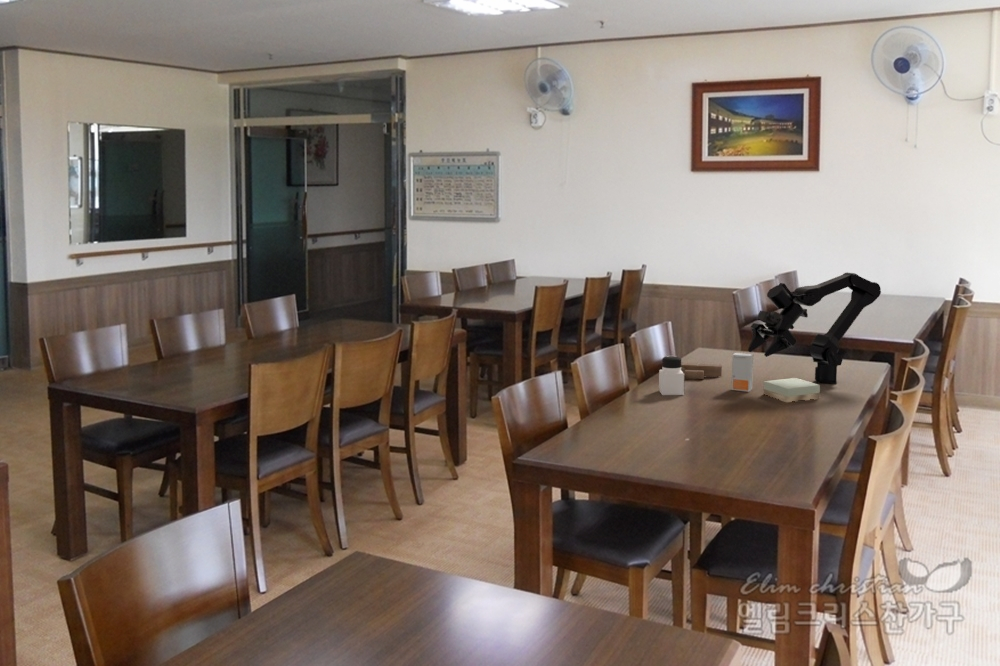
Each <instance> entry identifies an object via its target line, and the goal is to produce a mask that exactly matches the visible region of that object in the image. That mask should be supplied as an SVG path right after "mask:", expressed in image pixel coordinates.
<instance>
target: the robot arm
mask: <svg viewBox="0 0 1000 666" xmlns="http://www.w3.org/2000/svg"><path fill="white" fill-rule="evenodd" d="M845 288H848V289H849V290H851V294H850V301H849V302H848V304H847V305H846V306H845V308H843V310H842V312H841V313H840V315H839V316H837V319H836V320H835V321H834V322H833V324H832V325H831V327H829V329H828V331H827V332H826V333H825V334H821V333H818V334H817V335H816V336H815V338H814V340H812V341H811V342H810V344H811V345H810V347H809V353H810V355H811V358H812V362H813V363H817V364H816V366H814V367H815V368H814V380H815V383H817V382H822V383H821V384H837V383H838V380H837V377H838V376H837V373H838V372H837V371H838V366H842V363H843V360H844V359H843V358H842V357H841V355H840V354H838V352H839V349H840V341H841V340H842V339H843V337H844V336H845V334H846V333H847V332H848V331H849V329H850V328H851V326H852V325H853V324H854V322H855V321H856V319H857V318H858V317H859V316H860V314H861V312H862V311H863V310H864V309H865V308H866V307H868V306H870V305H872V304H873V303H874V302H875V301H876V300H877V299H878V298H879V297H880V295H881V294H882V291H881V286H880V284H879V282H875V281H870V280H869V279H866V278H864V277H862V276H860V275H858V274H857V273H855V272H848V271H847V272H843V274H841V275H839V276H835V277H833V278H831V279H828V280H826V281H823V282H821V283H818V284H814V285H805V286H800V287H797V288H794V289H795V290H794V291H791V290H790V289H789V288H788V286H787V285H786V284H785V283H783V282H780V283H779V284H778V285H775V286H774V287H772V288H770V289H769V290H768V292H767V293H766V297H767V298H768V299H769V300H770V302H771V303H772V304H773V305H774V307H776V308H777V309H779V310H780V312H777V311H773V310H772V311H771V312H769V311H764V310H761V309H760V310H759V312H758V315H757V317H756V320H757V321H760V322H762V323H759V322H753V323H752V324H751V326H750V327H749V329H750V330H751V333H752V337H751V340H750V343H749V345H748V347H747V351H748V353H752V352H753V351H755V350H756V349H757V348H759V347H760V346H762V345H763V344H765V343H767V340H769V338H770V337H772V338H773V341H772V342H771V344H770V345H769V346H768V348H767V349H766V350H765V352H764V353H763V354H764V356H765V357H769V356H771V355H774V354H776V353H779V352H781V351H783V350H786V349H790V348H794V346H795V345H796V344H797V341H798V340H797V338H796V337H795V336H794V334H793V333H792V332H791V331H790V330H793V329H794V328H795V326H794V325H795V323H796V322H797V321H798V319H799V318H800V317H802V318H805V319H806V318H808V316H809V315H808V309H806V308H803V307H802V306H805V307H813V306H814V305H816V304H818V303H819V302H820V301H822V299H823V298H825V297H826V296H829V295H831V294H834V293H836V292H839V291H842V290H843V289H845ZM781 309H782V310H781ZM763 323H764V324H763Z"/></svg>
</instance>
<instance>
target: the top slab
mask: <svg viewBox="0 0 1000 666" xmlns="http://www.w3.org/2000/svg"><path fill="white" fill-rule="evenodd" d="M764 389H766V390H769V391H772V392H775V393H778V394H781V395H784V396H787V397H790V396H798V395H806V394H815V393H819V394H820V392H821V385H820V384H817V383H816V382H815V383H814V382H811V381H808V380H804V379H800V378H797V377H791V378H783V379H774V380H773V379H772V380H766V381H765V380H764V381H763V390H764Z"/></svg>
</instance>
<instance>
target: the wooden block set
mask: <svg viewBox="0 0 1000 666" xmlns="http://www.w3.org/2000/svg"><path fill="white" fill-rule="evenodd" d="M722 368H723V366H722V364H717V363H716V364H715V363H698V362H681V371H682V372H683V373H684V374H685V375H684V380H695V379H703V380H704V378H713V377H715V378H718V377H717V376H721V377H722V375H723V374H722V372H723V369H722ZM704 376H706V377H704Z"/></svg>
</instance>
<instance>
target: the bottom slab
mask: <svg viewBox="0 0 1000 666" xmlns="http://www.w3.org/2000/svg"><path fill="white" fill-rule="evenodd" d="M764 394H765V395H764ZM763 395H764V396H766V395H768V396H767V397H769V396H770V397H769V398H772V397H773V398H772V399H775V398H776V399H775V400H778V399H779V400H778V401H781V402H784V403H792V401H795V402H799V401H798V400H805V401H811V400H810V399H814V400H819V399H820V393H815V394H806V395H798V396H790V397H787V396H784V395H781V394H778V393H775V392H772V391H769V390H766V389H764V388H763ZM818 398H819V399H818Z"/></svg>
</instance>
